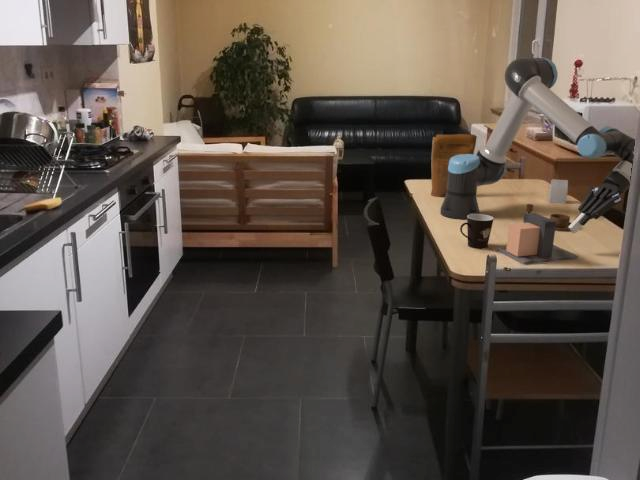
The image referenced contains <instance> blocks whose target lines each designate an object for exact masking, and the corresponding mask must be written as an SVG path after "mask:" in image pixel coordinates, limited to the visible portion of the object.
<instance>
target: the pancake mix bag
mask: <svg viewBox="0 0 640 480" xmlns="http://www.w3.org/2000/svg"><path fill="white" fill-rule="evenodd" d="M477 138H478V136H477V135H475V134H472V133H471V134H467V133H465V134H463V133H459V134H454V133H453V134H436V135H435V136H433V137H432V143H431V156H430V157H431V158H430V160H431V165H430V166H431V167H430V168H431V192H430V195H431V196H432V197H437V198H445V196H446V192H447V178H448V166H449V160H450V159H451V158H452V157H453V156H456V155H460V154H473V155H475V154H474V153H475V149H476V145H477V144H476V143H477Z"/></svg>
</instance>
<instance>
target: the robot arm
mask: <svg viewBox="0 0 640 480" xmlns="http://www.w3.org/2000/svg"><path fill="white" fill-rule="evenodd" d="M558 74H559V73H558V69H557V65H556V64H555V62H553V61H552V60H551V59H550V58H549V59H548V58H547V57H542V56H540V57H538V56H537V57H518V58H516V59H514V60H512V61H511V62H510V63H509V64H508V65H507V67H506V69H505V71H504V81H505V84H506V86H507V87H508V89H509V90H510V91H511V92H512V94H511V95H510V97H509V100H508V101H507V103H506V105H505V107H504V109H503V111H502V112H501V114H500V117H499V118H498V121H497V123H496V124H495V126H494V129H493V130H492V132H491V134H490V136H489V138H488V140H487V142H486V144H485V145H483V146H480V147H479V149H478V151H477V152H476V154H474V155H473V154H460V155H456V156H453V157H452V158H451V159H450V160H449V166H448V178H447V192H446V196H445V197H444V199H443V201H442V204H441V207H440V212H439V213H440V215H442V216H443V217H445V218H451V219H456V220H457V219H458V220H467V216H468V215H470V214H480V207H479V203H478V199H477V194H478V193H477V191H478V187H481V186H485V185H492V184H495V183H498V182H499V181H500V180H502V179H503V177H504V176H505V173H506V172H507V166H506V165H507V163H506V162H507V156H506V155H507V152H508V151H509V149H510V147H511V146H512V143H513V141H514V140H515V137H516V136H517V134H518V133H519V130H520V129H521V127H522V125H523V123H524V121H525V120H526V117H527V116H528V114H529V112H530V111H531V108H532V107H534V108H535V109H536V110H537V111H538V112H539V113H540V114H541V115H543V116H544V117H545V118H546V119H547V120H548V121H549V122H550V123H552V124H553V125H554V126H555V127H556V128H558V129H559V130H560V131H561V132H562V133H563V134H564V135H565V136H566V137H568V139H570V140H571V141H572V142H573V143H575V144H576V147H577V150H578V153H579V155H580V156H582V157H583V158H586V159H587V158H588V159H594V158H595V159H597V158H600V157H604V156H610V155H611V156H612V155H613V156H615V157H617V158H618V159H621V160H620V162H618V164H617V165H616V166H615V167H614V168H613V169H612V171H610V172H609V173H608V174H607V175H606V176H605V177H604V179H603V183H602V184H600V185H598V187H593V186H591V187H590V188H589V190H588V192H587V194H586V196H585V197H584V199H583V200H582V202H581V203H580V205H579V206H578V207H577V210H578V211H579V214H578V215H577V216H576V217H575V218H574V220H573V221H572V222H570V223H571V224H570V226H568V227H567V228H569V229H570V230H571V231H570V232H571V233H573V234H576V233H578V232H579V230H581V229H582V227H583V226H585V225H586V224H587V223H588V222H589V221H590V220H592V219H594V220H597V219H600V217H601V216H603V215H604V214H605V213H607V212H608V211H610V210H611V209H612V208H614V207H615V206H616V205H619V204H621V203H622V202H623V200H622V198H621V197H620V196H621V195H622V194H624V193H625V192H626V191H627V190H628V189H629V188H630V187H629V184H630V176H631V168H632V159H633V152H634V146H635V140H636V139H635V138H633V137H631V136H629V135H628V134H626V133H624V132H622V131H620V130H619V129H618V128H615V127H612V126H609V125H605V126H604V127H603V128H601V129H600V130H598V129H597V128H596V127H595V126H593V125H592V124H591V123H590V122H589V121H587V119H585V118H584V117H583V116H582V115H581V114H579V113H578V112H577V111H576V110H575V109H574V108H572V106H570V105H569V104H568V103H567V102H565V101H564V100H563V99H562V98H561V97H559V96H558V95H557V94H556V93H555V92H554V91H552V90H551V89H552V88H553V87H554V85H555V84H556V83H557V80H558ZM580 228H581V229H580Z"/></svg>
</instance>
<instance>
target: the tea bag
mask: <svg viewBox="0 0 640 480" xmlns="http://www.w3.org/2000/svg"><path fill="white" fill-rule="evenodd" d="M550 180H551V181H550V185H549V191H548V198H547V199H548V200H547V201H548V203H549V204H559V205H560V204H561V205H562V204H563V205H564V204H565V205H566V203H567V197H568V189H569V180H568V179H554V178H553V179H550Z"/></svg>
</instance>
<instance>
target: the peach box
mask: <svg viewBox="0 0 640 480" xmlns="http://www.w3.org/2000/svg"><path fill="white" fill-rule="evenodd" d="M540 229H541V227H540V226H538V225H535V224H533V223H530V222H528V223H524V222H518V223H517V222H516V223H509V224H508V232H507V241H506V247H507V248H506V251H507V252H509V253H511V254H513V255H515V256H517V257H519V256H528V255H537V252H538V244H539V236H540Z"/></svg>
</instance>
